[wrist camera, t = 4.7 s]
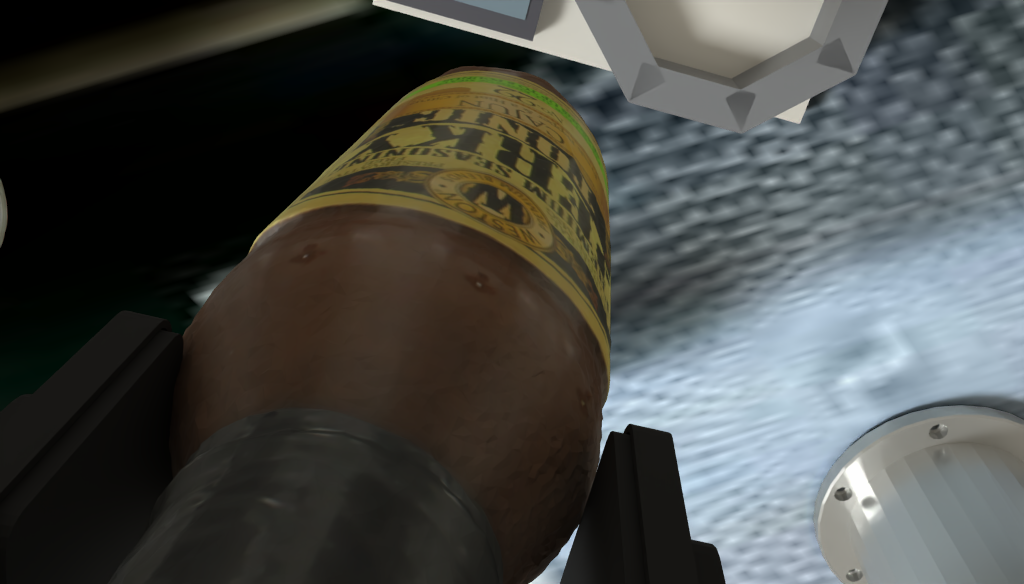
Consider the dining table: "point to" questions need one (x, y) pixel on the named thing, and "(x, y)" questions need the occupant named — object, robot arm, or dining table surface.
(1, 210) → the coffee can
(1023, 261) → the dining table surface
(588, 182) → the sauce bottle
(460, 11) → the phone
